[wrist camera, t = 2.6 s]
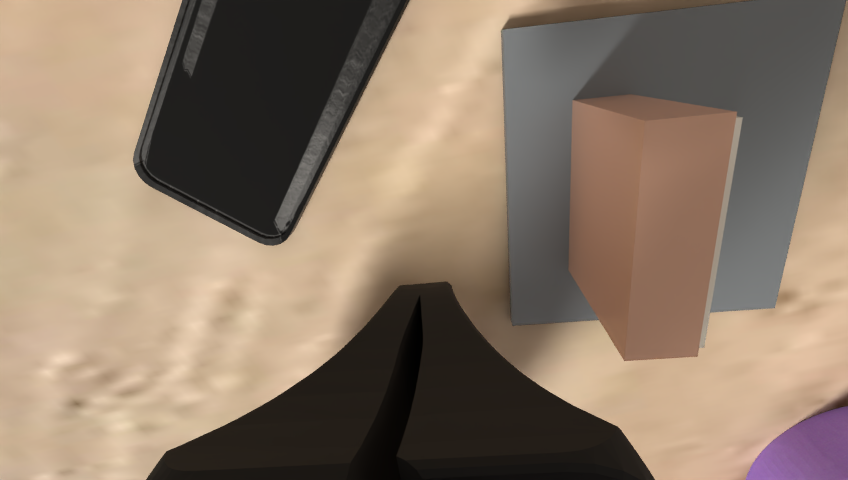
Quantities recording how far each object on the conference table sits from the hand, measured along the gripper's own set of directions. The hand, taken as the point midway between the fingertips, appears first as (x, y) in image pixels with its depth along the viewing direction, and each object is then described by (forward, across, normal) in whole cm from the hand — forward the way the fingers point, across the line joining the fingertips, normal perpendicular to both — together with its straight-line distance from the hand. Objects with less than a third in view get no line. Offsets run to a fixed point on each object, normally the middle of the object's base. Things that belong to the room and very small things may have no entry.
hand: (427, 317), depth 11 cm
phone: (+11, +6, -6) cm, 14 cm away
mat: (+10, -10, 0) cm, 14 cm away
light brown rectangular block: (+10, -8, 0) cm, 12 cm away
